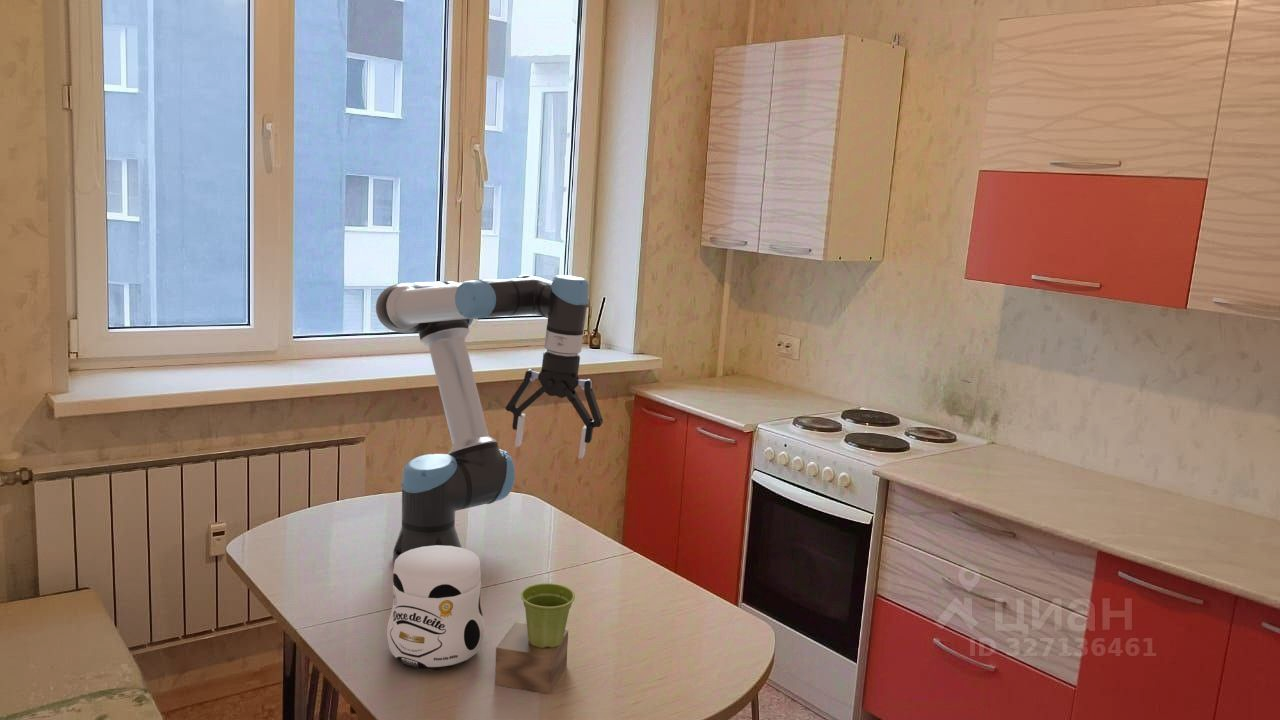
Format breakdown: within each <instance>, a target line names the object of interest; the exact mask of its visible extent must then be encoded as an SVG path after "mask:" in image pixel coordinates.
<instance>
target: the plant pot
mask: <svg viewBox="0 0 1280 720" xmlns="http://www.w3.org/2000/svg"><path fill="white" fill-rule="evenodd" d="M520 599H521V600H522V601H523V606H524V609H525V617H526V624H527V631H528V640H529V642H530V643H531V644H532V645H534V646H536V647H539V648H544V647H551V648H553V647H556V646H559V645H560V644H561V643H562V642H563V638H564V633H565V630H566V626H567V623H568V617H569V613H570V609H571V607H572V605H573V602H574V601H575V599H576V594H575V592H574V591H573V590H572V589H571V588H569V587H567V586H565V585H562V584H559V583H550V582H549V583H548V582H547V583H546V582H545V583H535V584H531V585H529V586H527V587H526V588H524V589H523V590H522V591H521V594H520Z"/></svg>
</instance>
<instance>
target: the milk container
mask: <svg viewBox="0 0 1280 720" xmlns="http://www.w3.org/2000/svg"><path fill="white" fill-rule="evenodd" d="M393 563H394V562H393ZM392 574H393V575H392V581H393V582H392V608H391V613H390V616H389V618H388V619H389V620H388V623H387V629H386V636H387V643H388V648H389V651H390V653H391V654H392V656H393V657H394V658H395V659H396V660H397V661H398V662H401V663H403V664H404V665H407V666H409V667H412V668H417V669H421V670H440V669H441V670H442V669H446V668H447V669H448V668H452V667H456V666H457V665H461V664H464V663H466V662H467V661H469V660H470V659H472V658H474V657H475V656H476V655H477V654H478V652H479V650H480V649H481V647H482V644H483V640H484V636H485V619H484V615H483V612H482V607H481V590H482V581H481V579H482V575H481V574H482V571H481V563H480V557H479V556H478V555H477V554H476V553H475V552H474V551H472V550H468V549H466V548H464V547H461V548H460V547H454V546H442V545H435V546H424V547H419V548H415V549H411V550H409V551H406V552H404V553H402V554H400V555H399V556H398V558H397V559H396V560H395V563H394V565H393V573H392Z"/></svg>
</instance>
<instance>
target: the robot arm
mask: <svg viewBox="0 0 1280 720" xmlns="http://www.w3.org/2000/svg"><path fill="white" fill-rule="evenodd" d="M589 286H590V285H589V282H588V280H586V279H585V278H583V277H579V276H574V275H567V274H557V275H555V276H553V278H552V280H548V279H546V278H542V277H540V276H538V275H535V274H533V275H531V274H520V275H518V276H517V277H515V278H504V279H502V278H501V279H472V280H466V281H463V282H456V281H446V280H439V281H424V282H423V281H421V282H405V283H403V282H402V283H397V284H393V285H390V286H388V287H386V288H385V289H384V290H382V292H381V293H380V294H379V296H378V297H377V299H376V304H375V314H376V316H377V318H378V320H379V322H380V324H382V326H384V327H385V328H386V329H388V330H391V332H394V333H403V334H411V333H412V334H413V333H418V336H419V340H420V343H421V344H422V345H424V346H426V347H427V348H428V349H429V354H430V357H431V362H432V365H433V371H434V373H435V378H436V381H437V385H438V390H439V394H440V399H441V402H442V406H443V411H444V415H445V418H446V423H447V427H448V430H449V435H450V438H451V443H452V445H451V448H450V450H449V451H448V452H447V453H448V454H447V453H440V452H439V453H428V454H423V455H420V456H417V457H414V458H412V459H411V460H409V461H408V462H407V463H406V464H405V466H404V467H403V469H402V477H401V478H402V479H401V482H400V484H401V527H400V531H399V535H398V536H397V539H396V542H395V545H394V548H393V550H392V551H393V552H392V553H393V554H392V555H393V556H392V557H393V558H392V561H394V562H393V563H395V560H396V559H397V558H398V556H399V555H400V554H402V553H404V552H406V551H409V550H411V549H415V548H419V547H424V546H435V545H442V546H454V547H460V548H462V545H461V541H460V539H459V537H458V532H457V530H456V529H457V528H456V526H455V525H456V521H455V520H456V519H455V518H456V512H457V511H460V510H465V509H469V508H473V507H474V508H475V507H478V506H479V507H480V506H483V505H490V504H492V503H495V502H497V501H501V500H504V499H505V498H507V497H508V496H509V494H510V493H511V491H512V489H513V486H514V484H515V479H516V470H515V464H514V461H513V458H512V456H511V455H509V452H508V451H506V450H503V449H500V447H499V443H498V441H497V440H496V439H494V438H493V437H491V436H490V434H489V430H488V427H487V423H486V418H485V415H484V410H483V406H482V403H481V400H480V399H481V398H480V395H479V391H478V388H477V384H476V383H477V382H476V378H475V375H474V371H473V368H472V364H471V359H470V355H469V351H468V348H467V347H468V346H467V343H466V338H467V336H468V334H469V333H470V329H469V327H470V326H471V324H472V323H473V321H474V320H477V319H485V318H486V319H487V318H496V317H497V318H498V317H507V316H508V317H511V316H522V315H523V316H524V315H537V316H540V317H543V318H545V319H546V318H547V322H546V323H547V324H546V330H545V336H544V337H545V338H544V349H545V350H544V351H543V353H542V363H541V370H540V372H539V371H535V369H533V368H529V369H528V370H526V371H525V374H524V377H523V381H522V382H521V383H520V385H519V387H518V388H517V390H516V392H515V393H513V396H512V397H511V398H510V400H509V402H508V403H507V404H506V405H505V410H506V411H507V412H510V413H512V415H513V419H512V430H514V431H516V435H515V443H514V447H515V448H519V447H520V446H521V445H522V444H523V437H524V427H525V419H526V413H522V412H524V411H525V409H528V407H529V406H531V405H532V404H533V403H534V402H535V401H536V400H537V399H538V398H539V397H541V396H542V395H543V394H544V393H546V394H547V395H548V396H549V397H557V398H561V399H563V398H567V400H568V401H569V402H570V403H571V405H572V407H573V408H574V409H575V411H576V413H577V414H578V416H579V418H580V419H581V421H582V422H583V424H584V425H583V426H582V428H581V436H580V443H579V451H578V457H577V458H578V459H583V458H584V457H585V454H586V446H587V444H589V443H591V442H592V439H593V432H594V428H600V427H601V426H602V424H603V423H604V421H603V417H602V414H601V411H600V408H599V405H598V402H597V399H596V396H595V394H594V389H593V386H594V385H593V384H594V383H593V379H591V378H588V379H580V378H579V371H580V370H579V368H580V362H581V361H580V360H581V356H580V353H581V352H582V345H583V339H584V330H585V329H584V328H585V323H586V315H587V314H586V313H587V308H588V303H589ZM536 379H538V381H539V383H540V385H541V386H540V388H538V389H537V390H536V391H535V392H534V393H533V394H531V396H529V397H528V398H527V399H526V400H525V401H524V402H523V403H521V404H520V405H519V406H517V405H518V402H519V401H520V399H521V397H523V394H524V393H525V391H526V390H527V389H528V388H529V386H530V385H531V383H532V382H534V381H535V380H536ZM578 386H580V388H581V390H582V391H584V396H585V400H586V403H587V404H588V408H589V411H590V413H591V415H590V413H589V411H588V410H587V408H586V407H585V405H584V404H583V402H582V400H581V399H580V397H579V395H578V393H577V391H576V390H575V389H576V388H577V387H578Z"/></svg>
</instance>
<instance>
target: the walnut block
mask: <svg viewBox="0 0 1280 720" xmlns="http://www.w3.org/2000/svg"><path fill="white" fill-rule="evenodd" d="M568 641H569V630H567V629H565V633H564V638H563V642H562V643H561V644H560V645H559V646H556V647H553V648H551V647H544V648H539V647H536V646H534V645H532V644H531V643H530V642H529V640H528V631H527V623H523V622H517V621H515V622H514V623H513V625H512V626H511V627H510V629H509V630H508V631H507V632H506V634H505V635H504V637H503V638H502V639H501V640H500V642H499V643H498V645H497V646H496V647H495V670H494V671H495V672H494V686H499V687H506V688H512V689H517V690H523V691H529V692H536V693H542V694H547V695H551V694H552V692H553V691H554V689H555V686H556V685H557V684H558V682H559V680H560V678H561V677H562V676H563V673H564V671H565V670H566V668H567V665H568V664H567V662H568V647H569V646H568V644H569V643H568Z"/></svg>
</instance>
